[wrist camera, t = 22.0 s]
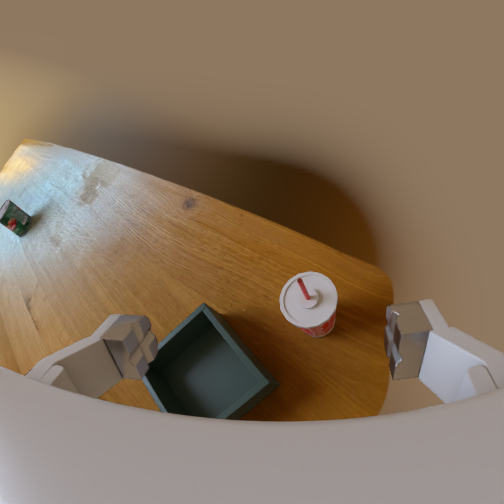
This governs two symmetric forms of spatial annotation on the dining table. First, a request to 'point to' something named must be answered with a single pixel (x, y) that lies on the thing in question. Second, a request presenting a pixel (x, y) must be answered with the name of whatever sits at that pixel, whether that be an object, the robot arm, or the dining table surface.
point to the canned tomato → (14, 218)
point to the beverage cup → (310, 303)
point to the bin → (207, 370)
